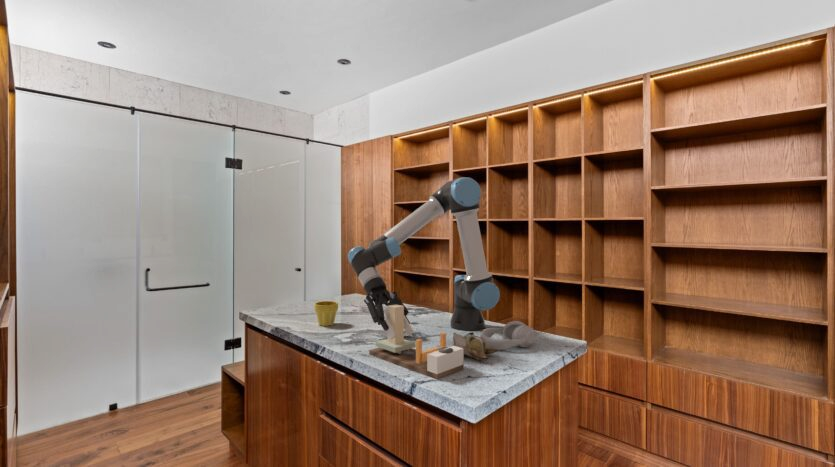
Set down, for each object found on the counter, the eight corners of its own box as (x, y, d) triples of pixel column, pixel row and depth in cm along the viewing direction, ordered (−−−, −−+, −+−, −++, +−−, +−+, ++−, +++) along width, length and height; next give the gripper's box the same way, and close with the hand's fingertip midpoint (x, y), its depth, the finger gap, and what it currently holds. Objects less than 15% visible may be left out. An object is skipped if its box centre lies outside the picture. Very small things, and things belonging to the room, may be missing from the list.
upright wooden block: (376, 349, 139) (376, 305, 139) (395, 343, 145) (395, 302, 145) (395, 355, 132) (395, 309, 132) (415, 349, 138) (415, 306, 138)
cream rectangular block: (426, 370, 120) (426, 351, 119) (453, 361, 128) (453, 343, 128) (437, 374, 116) (437, 354, 116) (463, 364, 125) (463, 346, 125)
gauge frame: (415, 362, 123) (415, 339, 122) (443, 353, 131) (443, 332, 131) (418, 363, 122) (418, 340, 122) (445, 354, 130) (446, 333, 130)
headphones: (521, 335, 163) (475, 344, 159) (519, 316, 163) (472, 325, 159) (544, 348, 145) (492, 359, 141) (541, 327, 145) (490, 337, 141)
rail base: (369, 354, 139) (369, 347, 139) (395, 347, 148) (395, 340, 148) (437, 379, 117) (437, 370, 117) (463, 369, 125) (463, 361, 125)
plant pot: (335, 327, 177) (335, 305, 177) (311, 327, 177) (311, 305, 177) (340, 321, 187) (340, 300, 187) (318, 321, 188) (317, 300, 187)
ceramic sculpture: (460, 325, 145) (500, 333, 137) (459, 348, 146) (498, 358, 138) (446, 331, 136) (488, 341, 128) (445, 357, 137) (487, 367, 129)
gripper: (388, 286, 156) (418, 336, 145) (345, 292, 142) (373, 347, 131) (398, 273, 152) (428, 323, 141) (354, 278, 138) (384, 334, 127)
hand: (402, 335), depth 136 cm, fingers open, 7 cm apart
